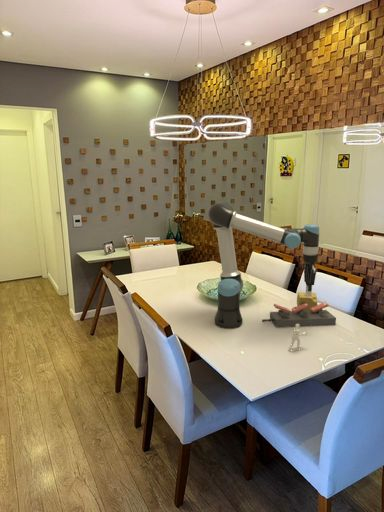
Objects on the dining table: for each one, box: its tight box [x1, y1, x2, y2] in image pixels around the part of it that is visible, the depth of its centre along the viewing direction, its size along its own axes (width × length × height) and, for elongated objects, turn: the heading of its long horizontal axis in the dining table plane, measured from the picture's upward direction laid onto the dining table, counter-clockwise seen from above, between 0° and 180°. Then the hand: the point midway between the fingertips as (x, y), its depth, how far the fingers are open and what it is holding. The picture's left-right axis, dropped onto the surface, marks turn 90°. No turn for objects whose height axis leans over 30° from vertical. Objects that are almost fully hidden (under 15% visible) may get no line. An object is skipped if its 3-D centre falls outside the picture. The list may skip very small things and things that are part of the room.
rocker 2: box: [291, 303, 310, 313], centre depth 193 cm, size 9×4×2 cm, turn 94°
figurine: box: [288, 324, 308, 353], centre depth 161 cm, size 5×9×12 cm, turn 124°
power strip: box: [261, 309, 337, 328], centre depth 192 cm, size 38×12×6 cm, turn 94°
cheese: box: [296, 291, 318, 311], centre depth 207 cm, size 10×11×10 cm
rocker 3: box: [310, 301, 329, 312], centre depth 194 cm, size 9×4×2 cm, turn 93°
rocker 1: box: [273, 303, 292, 313], centre depth 193 cm, size 9×4×2 cm, turn 94°
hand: (308, 296), depth 192 cm, fingers closed
